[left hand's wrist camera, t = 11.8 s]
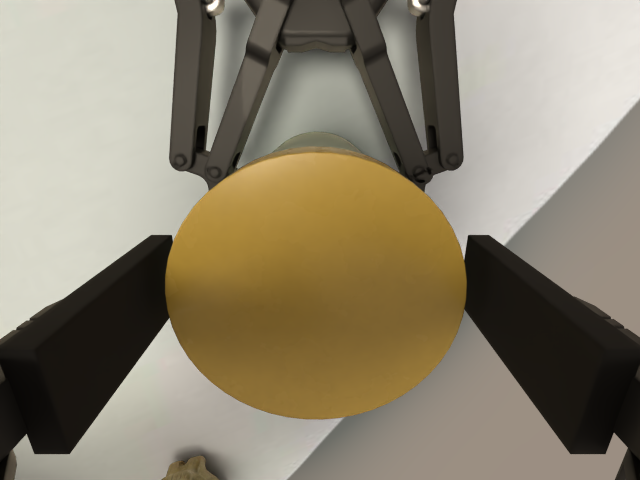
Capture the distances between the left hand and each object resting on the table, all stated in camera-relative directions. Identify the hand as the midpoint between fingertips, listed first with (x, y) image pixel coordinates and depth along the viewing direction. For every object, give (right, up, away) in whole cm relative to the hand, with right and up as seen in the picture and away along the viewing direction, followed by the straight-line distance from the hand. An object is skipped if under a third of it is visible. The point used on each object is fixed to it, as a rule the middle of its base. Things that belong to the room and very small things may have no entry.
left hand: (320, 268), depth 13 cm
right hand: (0, -1, +10) cm, 10 cm away
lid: (0, -1, -2) cm, 2 cm away
